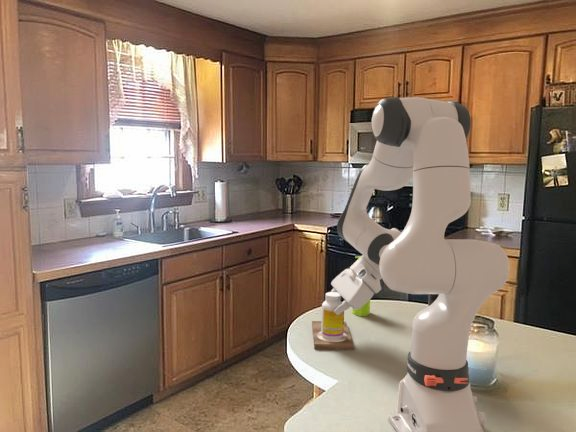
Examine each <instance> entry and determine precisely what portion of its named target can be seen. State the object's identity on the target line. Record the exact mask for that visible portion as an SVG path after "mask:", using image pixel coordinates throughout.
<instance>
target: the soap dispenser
mask: <svg viewBox="0 0 576 432" xmlns="http://www.w3.org/2000/svg"><path fill="white" fill-rule="evenodd" d="M361 256H362V255H355V256H354V258H355V259H359V258H360V257H361ZM370 308H371V299H370V300H369V301H368V302H367V303H365V304H364V305H363V306H362V307H361V308H360V309H357V310H354V309H353V308H352V314H353V315H355V316H359V317H367V316H369V315H370V313H371V309H370Z"/></svg>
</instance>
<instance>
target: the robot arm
mask: <svg viewBox="0 0 576 432" xmlns="http://www.w3.org/2000/svg"><path fill="white" fill-rule="evenodd" d="M471 126H472V117H471V114H470V111H469V109H468V108H467V106H465V105H463V104H462V103H459V102H456V101H452V100H449V101H444V100H439V99H431V98H426V97H416V96H415V97H414V96H413V97H411V96H409V97H398V96H392V97H386V98H382V99H380V100H379V101H378V102H377V103H376V105H375V107H374V109H373V111H372V117H371V132H372V136H373V137H374V138H375V140H376V142H375V145H374V150H373V152H372V157H371V160H370V161H369V163H367V164H366V163H365V164H364V165H363V167H362V168H361V169H360V171H359V172H358V174H357V176H356V178H355V182H354V184H353V186H352V188H351V192H350V194H349V196H348V200H347V203H346V205H345V207H344V210H343V212H342V213H341V215H340V216H339V218H338V220H337V224H336V231H337V235H338V236H339V237H340V238H341V239H343V240H344V241H345V242H347V243H348V244H350V246H352V247H353V248H354V249H355V250H356V251H358V253H360V254H362V255H360V256H361V257H360V258H357V260H355V262H353V264H351V266H349V268H345V269H344V270H343V271H341V272H340V273H339V274H338V275H336V276H335V278H333V279H332V280H331V282H330V285H331V286H332V289H331V290H330V292H338V293H339V294H340V295H341V296H342V298H343V299H344V300H343V301H341V302H342V304H341V305H339V306H336V307H335V308H334V309H333V311H334V312H335V313H336V314H337V315H339V314H340V313H341V312H343V311H344V312H345V311H347V310H349V309H350V307H351V308H352V310H353V309H354V310H357V309H360V308H361V307H362V306H363V305H364V304H365V303H367V302H368V301H369V300H370V301H371V299H372V298H373V297H374V295H375V294H378V293H379V292H380V291H382V285H381V281H380V280H382V281H383V282H384V284H385V285H386V286H387V287H388V289H389V290H391V291H394V292H399V293H403V294H409V295H410V294H411V295H429V294H439V296H438V297H437V299H436V300H435V301H434V302H433V303H432V304H431V305H430V306H427V307H425V308H423V309H421V310H420V311H418V312H417V313H416V315H415V316H414V318H413V319H412V322H411V337H410V351H409V352H408V353H407V354H408V355H407V359H406V364H407V366H406V370H407V372H406V375H405V376H404V377H403V378H402V379H401V380H400V381H399V383H398V391H397V392H398V393H397V402H396V410H394V411H392V412H390V413H389V415H388V421H389V423H390V424H391V426H392V427H393V428H394V429H395V431H396V432H484V429H483V426H482V425H485V424H486V414H485V412H484V411H477V407H476V404H477V403H478V397H477V396H475V395H473V392H472V388H471V382H470V368H469V363H468V362H469V361H468V359H467V356H468V354H467V353H468V347H469V337H470V332H471V327H472V324H473V322H474V319H475V317H476V315H477V313H478V312H479V310H480V309H481V307H482V306H483V304H484V303H485V302H486V301H487V300H488V299H489V297H491V296H493V295H494V293H496V292H497V291H499V290H500V289H502V288H503V287H504V286H505V284H507V281H508V279H509V276H510V272H511V271H510V270H511V265H510V261H509V260H510V259H509V257H508V254H507V253H506V252H505V250H504V249H503V247H502V246H501V245H499V244H497V243H493V242H490V241H487V240H486V241H485V240H481V239H475V238H474V239H471V238H469V239H464V238H463V239H458V238H457V239H453V238H452V239H447V238H446V239H445V232H446V230H447V227H448V225H449V224H450V223H452V222H454V221H456V220H458V219H460V218H461V217H463V216H464V215H465V214H466V213H467V212H468V210H469V209H470V207H471V202H472V199H471V198H472V196H471V193H472V192H471V172H470V156H469V148H468V143H467V138H468V137H469V134H470V132H471V129H472V127H471ZM411 180H412V185H413V186H412V204H411V212H410V215H409V218H408V220H407V222H406V225H405V226H404V229H403V230H402V231H400V230H399V229H398V228H397V227H392V228H391V229H389V228H385V227H383V226H382V225H380V224H379V223H378V222H376V221H375V220H374V219H372V218H371V216H370V215H369V214H368V211H367V208H368V205H369V202H370V200H371V197H372V194H373V193H374V191H375V190H379V191H384V192H386V191H390V192H391V191H396V190H399V189H402V188H403V187H405V186H407V185H408V184H409V183H410V181H411ZM324 301H326V298H325V299H324Z"/></svg>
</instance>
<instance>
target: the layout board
mask: <svg viewBox="0 0 576 432" xmlns="http://www.w3.org/2000/svg"><path fill="white" fill-rule="evenodd" d="M321 321H322V320H321ZM321 321H320V320H311V327H312V329H311V330H312V338H313V339H312V340H313V346H314V347H313V348H314V350H344V351H345V350H349V351H350V350H351V351H352V350H354V342H353V339H352V336H351V334H350V330H349V327H348V324H347V321H344V333H343V337H342V338H340V339H327V338H324V337H323V336H322V335H321Z"/></svg>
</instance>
